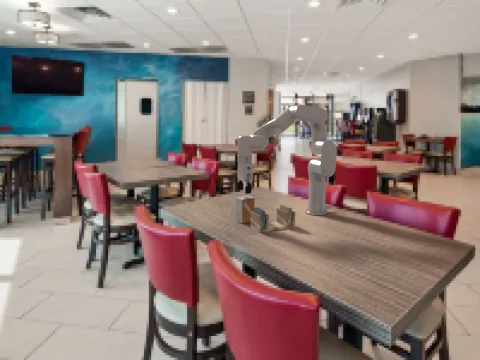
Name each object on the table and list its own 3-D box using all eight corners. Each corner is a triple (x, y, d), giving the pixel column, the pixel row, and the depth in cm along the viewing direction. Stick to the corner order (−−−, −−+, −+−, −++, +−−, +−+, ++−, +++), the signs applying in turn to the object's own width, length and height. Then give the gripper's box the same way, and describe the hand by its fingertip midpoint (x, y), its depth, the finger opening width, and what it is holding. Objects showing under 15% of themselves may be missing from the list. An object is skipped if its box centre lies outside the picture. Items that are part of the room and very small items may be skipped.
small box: (242, 223, 198) (242, 199, 196) (235, 221, 203) (235, 197, 201) (254, 221, 203) (254, 197, 200) (247, 218, 208) (247, 195, 206)
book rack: (284, 222, 200) (285, 203, 198) (294, 227, 191) (295, 207, 189) (250, 227, 192) (250, 207, 191) (259, 232, 183) (259, 212, 181)
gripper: (258, 161, 191) (258, 194, 194) (244, 157, 207) (244, 188, 209) (245, 161, 188) (244, 195, 191) (231, 158, 204) (231, 189, 206)
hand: (244, 191), depth 200 cm, fingers open, 9 cm apart
